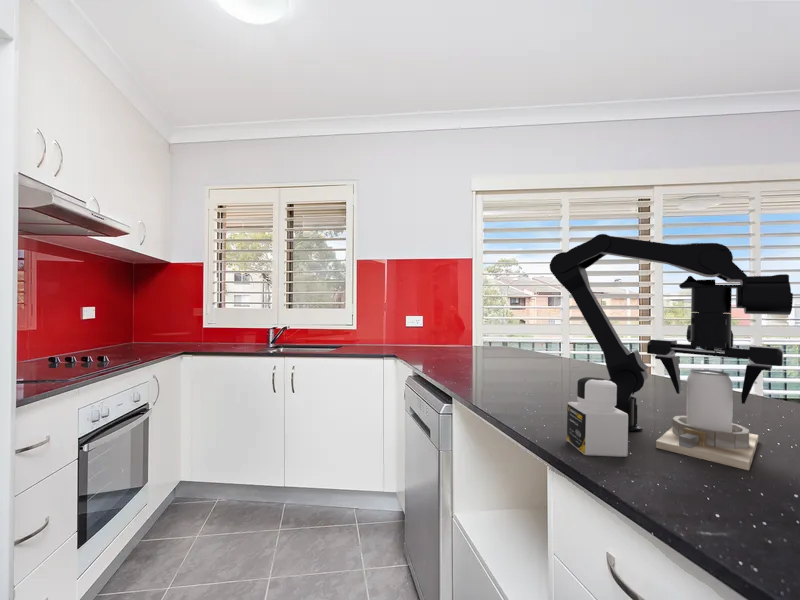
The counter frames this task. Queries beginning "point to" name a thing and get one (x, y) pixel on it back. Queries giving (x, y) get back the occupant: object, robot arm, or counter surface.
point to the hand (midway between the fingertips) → (709, 398)
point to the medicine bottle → (597, 420)
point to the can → (710, 400)
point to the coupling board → (710, 443)
